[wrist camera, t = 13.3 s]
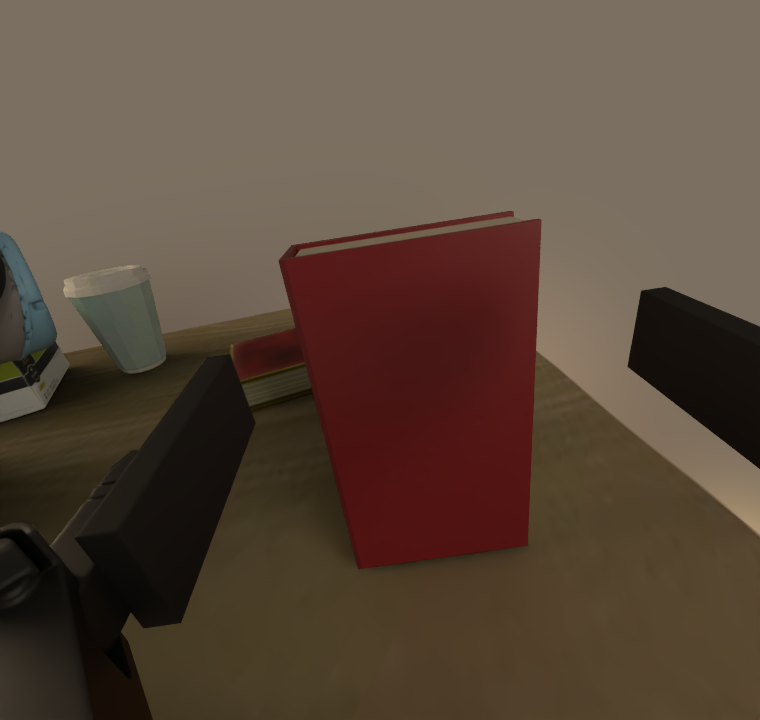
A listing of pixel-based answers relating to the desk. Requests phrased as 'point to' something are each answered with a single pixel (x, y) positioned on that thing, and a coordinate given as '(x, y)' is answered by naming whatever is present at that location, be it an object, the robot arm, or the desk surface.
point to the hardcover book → (271, 369)
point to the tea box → (30, 382)
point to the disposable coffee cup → (120, 315)
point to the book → (424, 380)
